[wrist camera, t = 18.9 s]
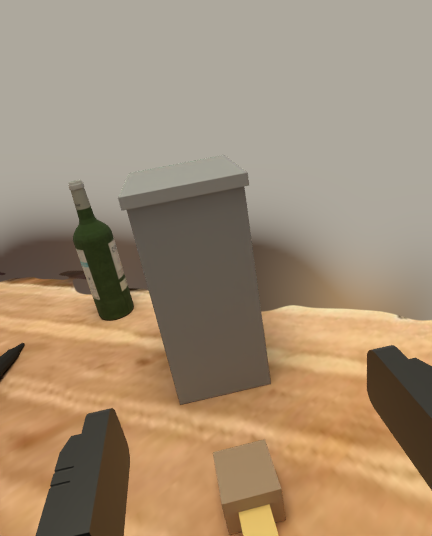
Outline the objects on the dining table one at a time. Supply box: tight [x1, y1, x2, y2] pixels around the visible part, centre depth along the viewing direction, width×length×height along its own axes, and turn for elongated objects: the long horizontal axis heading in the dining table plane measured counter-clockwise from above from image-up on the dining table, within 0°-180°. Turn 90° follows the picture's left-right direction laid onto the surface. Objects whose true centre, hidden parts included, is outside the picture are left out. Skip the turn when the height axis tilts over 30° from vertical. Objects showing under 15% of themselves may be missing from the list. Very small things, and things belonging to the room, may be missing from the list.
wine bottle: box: [69, 180, 134, 320], centre depth 79 cm, size 8×8×30 cm
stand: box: [118, 155, 271, 405], centre depth 57 cm, size 17×15×32 cm
